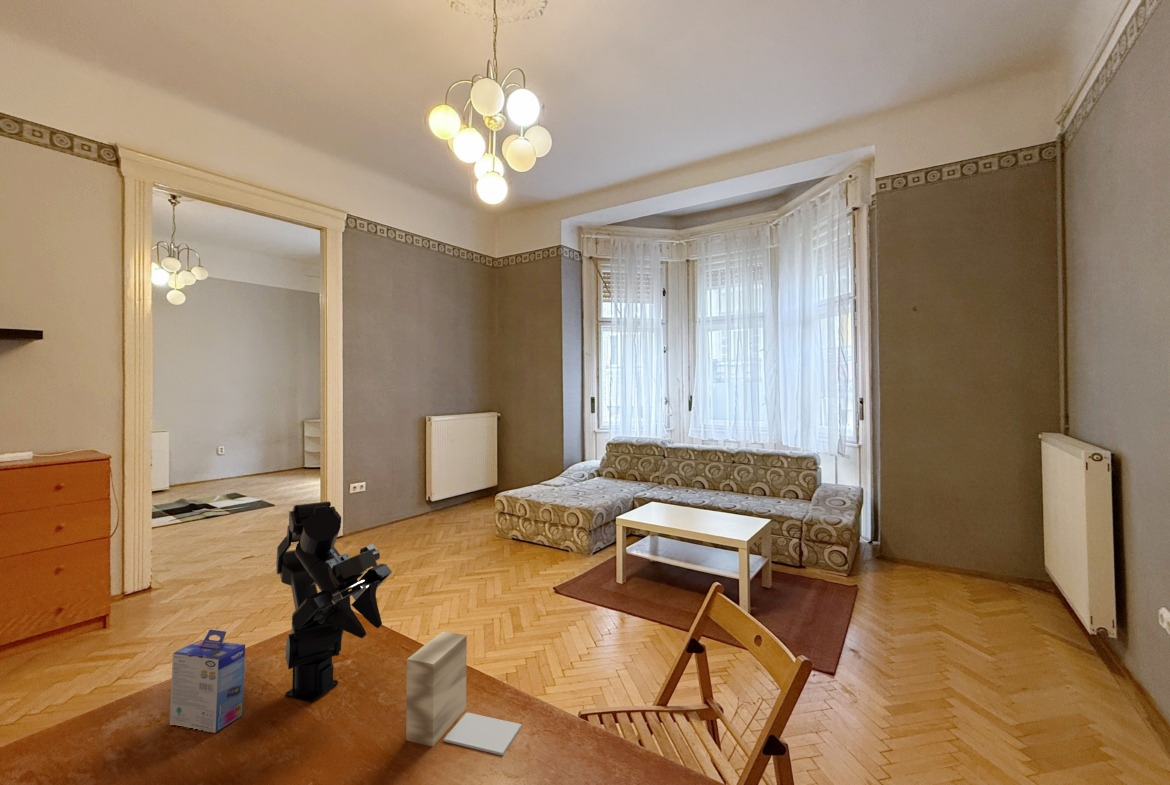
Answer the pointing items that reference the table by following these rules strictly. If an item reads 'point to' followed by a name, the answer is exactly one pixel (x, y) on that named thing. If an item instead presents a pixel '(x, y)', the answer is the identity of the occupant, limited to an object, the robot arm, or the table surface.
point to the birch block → (436, 687)
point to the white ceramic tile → (483, 733)
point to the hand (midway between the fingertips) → (372, 631)
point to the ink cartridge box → (207, 684)
